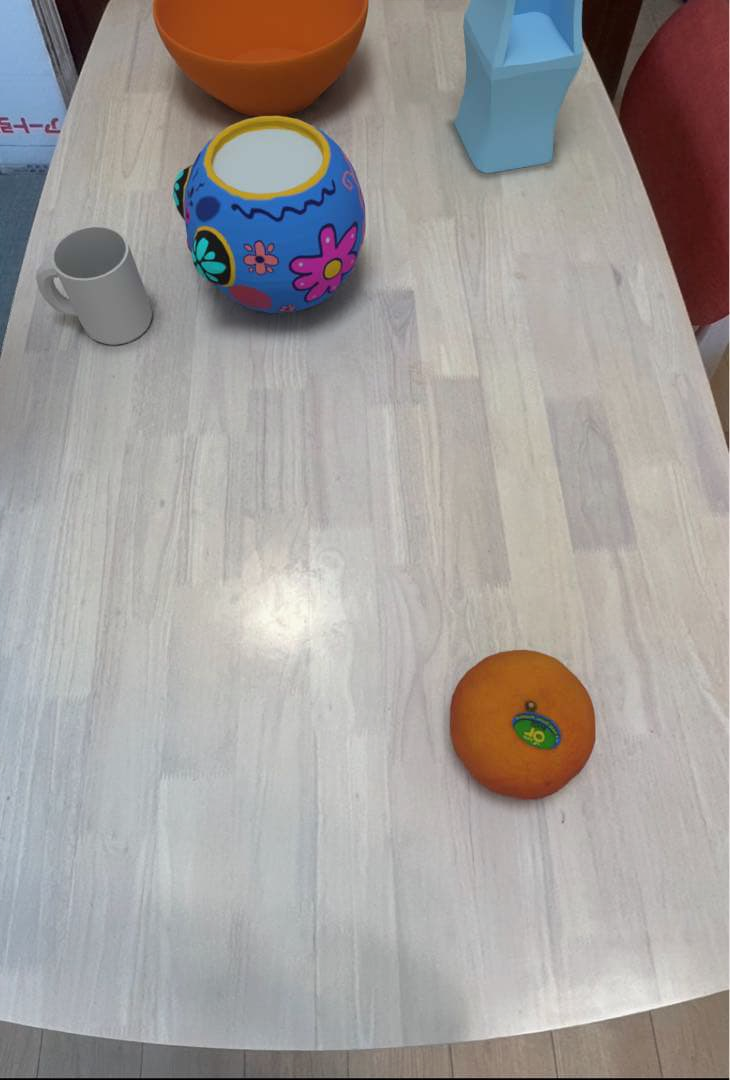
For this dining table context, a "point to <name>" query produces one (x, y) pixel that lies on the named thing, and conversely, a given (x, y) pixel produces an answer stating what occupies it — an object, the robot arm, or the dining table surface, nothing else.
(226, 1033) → the dining table surface
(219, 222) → the ceramic pot
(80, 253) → the cup
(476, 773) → the fruit
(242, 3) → the bowl
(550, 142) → the vase
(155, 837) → the dining table surface
